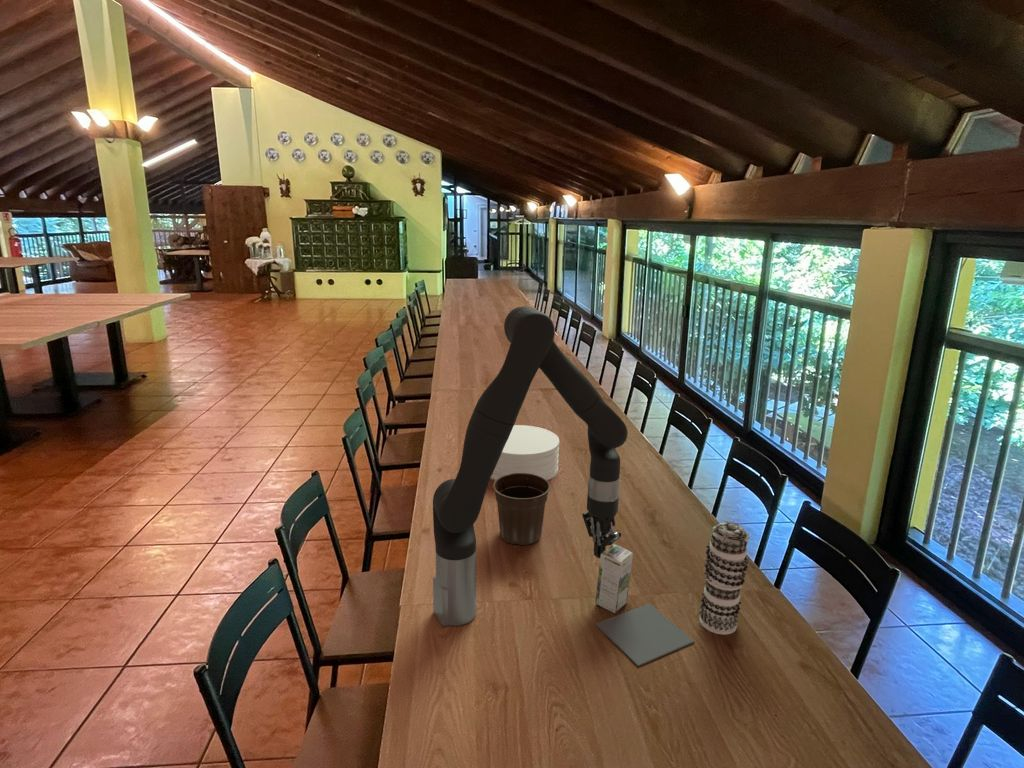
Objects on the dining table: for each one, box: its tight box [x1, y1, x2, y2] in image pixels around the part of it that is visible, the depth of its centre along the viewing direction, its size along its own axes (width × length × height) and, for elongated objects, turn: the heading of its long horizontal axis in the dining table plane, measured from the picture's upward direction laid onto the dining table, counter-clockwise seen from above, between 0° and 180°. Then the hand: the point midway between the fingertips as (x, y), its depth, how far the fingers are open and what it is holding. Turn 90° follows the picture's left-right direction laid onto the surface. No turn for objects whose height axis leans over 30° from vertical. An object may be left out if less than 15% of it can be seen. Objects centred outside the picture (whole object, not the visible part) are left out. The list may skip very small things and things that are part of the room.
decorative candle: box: [698, 521, 751, 636], centre depth 141 cm, size 9×9×25 cm
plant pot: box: [492, 473, 551, 546], centre depth 178 cm, size 16×16×16 cm
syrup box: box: [595, 543, 634, 614], centre depth 148 cm, size 6×6×14 cm
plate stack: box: [490, 424, 560, 481], centre depth 223 cm, size 28×28×12 cm
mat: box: [595, 603, 695, 668], centre depth 140 cm, size 16×15×1 cm
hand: (599, 556), depth 153 cm, fingers closed
